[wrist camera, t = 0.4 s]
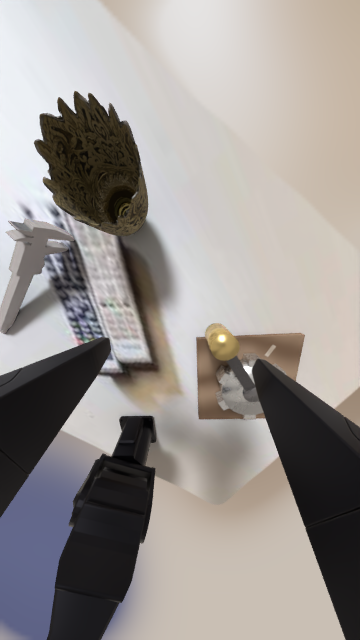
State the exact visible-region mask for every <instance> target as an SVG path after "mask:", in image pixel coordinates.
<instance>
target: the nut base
mask: <svg viewBox="0 0 360 640" xmlns="http://www.w3.org/2000/svg"><path fill="white" fill-rule="evenodd" d="M234 337H235V338H236V339H237V340H238V342H239V345H240V349H239V352H238V354H237V357H238V358H239V360H242V359H243V354H247V353H255V354H256V355H257V356H259V357H260V358H261V359H264V360H266V361H268V362H269V363H270V364H272V365H273V364H275V363H276V364H277V365H278V366H279V367H280V368H282V369H283V370H284V371H285V373H286V374H287V376H289V377H290V378H291V379H293V380H294V381H296V376H297V371H298V366H299V361H300V356H301V352H302V347H303V342H304V337H305V335H304V334H301V333H290V334H267V335H243V336H234ZM196 341H197V378H198V414H199V419H244V418H243V416H242V414H239V413H236V412H234V411H232V410H231V409H230V408H229V409H226V410H223V409H222V408H221V406H220V405H219V404H218V401H217V397H216V394H215V393H216V392H218V391H220V387H219V382H218V379H217V376H216V372H217V371H218V369H219V368H220V366H221V365H222V366H224V367H226V368H227V367H228V366H229V365H228V363H227V361H223V360H219V359H217V358H215V357H214V356H213V354H212V352H211V349H210V347H209V344H208V342H207V339H206V337H196ZM256 418H265V415H264V413H261V414H257V415H256Z"/></svg>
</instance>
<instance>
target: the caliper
mask: <svg viewBox="0 0 360 640" xmlns="http://www.w3.org/2000/svg"><path fill="white" fill-rule="evenodd" d="M8 222H9V223H10V224H11V225H12V226H13V227H14V228H15V229H16V230H11V231H6V233H7V234H8V235H9V236H10V237H11V238H12V239H13V240H14V241H17V242H16V245H15V249H14V252H13V256H12V259H11V263H10V266H9V270H10V271H11V272H12V275H11V278H10V281H9V284H8V287H7V290H6V293H5V296H4V299H3V302H2V305H1V308H0V332H1V333H3V334H6V332H7V330H8V329H9V328H10V327H11V326H12V324H13V323H14V321H15V319H16V316H17V314H18V311H19V309H20V307H21V304H22V302H23V299H24V297H25V295H26V292H27V290H28V287H29V285H30V283H31V280H32V278H33V276H34V275H35V274H41V272H42V268H43V267H44V265H45V263H44V257H45V255H49V254H54V253H60V252H66V251H67V250H68V249H69V248H67V247H66V246H65V245H64V244H63V243H59V242H54V241H48V239H57V240H68V241H74V238H73V237H72V236H71V235H70V234H69V233H68V232H67V231H65V230H63V229H61V228H58V227H56V226H54V225H52V224H49V223H47V222H41V221H36V220H30V219H25V220H24V223H17V222H12V221H8Z"/></svg>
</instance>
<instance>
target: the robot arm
mask: <svg viewBox="0 0 360 640" xmlns="http://www.w3.org/2000/svg"><path fill="white" fill-rule="evenodd" d="M110 352H111V346H110V340H109V338H105V337H101V338H98V339H95V340H93V341H90V342H88V343H85V344H82V345H80V346H77V347H75V348H72V349H69V350H67V351H64V352H61V353H59V354H56V355H54V356H51V357H48V358H46V359H43V360H41V361H38V362H35V363H33V364H30V365H28V366H25V367H23V368H20V369H17V370H14V371H12V372H9V373H6V374H4V375H1V376H0V517H1V516H2V514H3V513H4V511H5V510H6V508H7V507H8V506H9V504H10V502H11V501H12V500H13V498H14V497H15V495H16V494H17V492H18V491H19V489H20V488H21V487H22V485H23V484H24V482H25V480H26V479H27V478H28V476H29V474H30V473H31V472H32V470H33V469H34V467H35V466H36V464H37V463H38V461H39V460H40V459H41V457H42V456H43V454H44V453H45V451H46V450H47V448H48V447H49V445H50V444H51V443H52V441H53V440H54V438H55V437H56V435H57V434H58V432H59V431H60V429H61V428H62V426H63V425H64V424H65V422H66V421H67V419H68V418H69V416H70V415H71V413H72V412H73V410H74V409H75V407H76V406H77V405H78V403H79V402H80V400H81V399H82V397H83V396H84V394H85V393H86V391H87V390H88V388H89V387H90V386H91V384H92V383H93V381H94V380H95V378H96V377H97V375H98V374H99V372H100V370H101V368H102V366H103V365H104V363H105V361H106V359H107V357H108V356H109V354H110ZM252 375H253V379H254V383H255V387H256V391H257V395H258V398H259V401H260V404H261V407H262V410H263V412H264V415H265V418H266V421H267V423H268V426H269V429H270V432H271V434H272V437H273V440H274V443H275V446H276V448H277V451H278V454H279V457H280V459H281V462H282V465H283V468H284V470H285V473H286V476H287V479H288V481H289V484H290V487H291V490H292V492H293V495H294V498H295V501H296V504H297V506H298V509H299V512H300V515H301V517H302V520H303V523H304V525H305V527H306V532H307V534H308V537H309V540H310V542H311V545H312V548H313V551H314V554H315V556H316V559H317V562H318V564H319V567H320V570H321V573H322V576H323V579H324V581H325V584H326V587H327V589H328V592H329V595H330V598H331V601H332V603H333V606H334V609H335V612H336V614H337V617H338V620H339V622H340V625H341V628H342V631H343V634H344V637H345V639H346V640H360V427H359V426H357V425H355V424H354V423H353V422H352V421H350V420H349V419H347V418H346V417H344V416H343V415H341V414H340V413H339V412H338V411H336V410H335V409H333V408H332V407H331V406H329V405H328V404H326V403H325V402H324V401H322V400H321V399H319V398H318V397H317V396H315V395H314V394H312V393H311V392H310V391H308V390H307V389H305V388H304V387H303V386H301V385H300V384H298V383H297V382H296V381H294V380H293V379H291V378H290V377H289V376H287V375H286V374H284V373H283V372H282V371H280V370H279V369H277V368H276V367H275V366H273V365H272V364H270V363H269V362H268V361H266V360H264V359H257V360H256V361H255V363H254V366H253V368H252ZM119 421H120V426H121V430H122V433H121V435H120V437H119V440H118V442H117V445H116V447H115V449H114V452H113V454H112V457H110V456H107V455H106V454H102V456H101V457H100V459H97V460H96V461H95V463H94V465H93V467H92V469H91V471H90V473H89V474H88V476H87V478H86V480H85V481H84V483H83V485H82V486H81V488H80V489H79V491H78V493H77V494H76V496H75V498H74V500H73V507H74V509H73V512H72V517H71V519H70V522H69V526H71V527H73V529H72V531H71V533H70V536H69V538H68V540H67V543H66V545H65V547H64V550H63V552H62V554H61V557H60V560H59V566H58V571H57V577H56V582H55V595H54V602H53V608H52V616H51V623H50V630H49V634H48V637H47V640H101V638H102V636H103V634H104V632H105V630H106V628H107V626H108V624H109V622H110V620H111V618H112V616H113V614H114V612H115V610H116V608H117V606H118V604H119V602H120V603H122V601H123V599H124V597H125V595H126V593H127V591H128V588H129V586H130V584H131V581H132V577H133V573H134V569H135V564H136V558H137V554H138V550H139V545H140V543H143V542H144V540H145V536H146V533H147V529H148V524H149V520H150V514H151V508H152V499H153V489H154V477H155V468H153V467H152V468H150V467H146V466H145V465H146V460H147V455H148V451H149V446H150V443H155V442H156V434H155V427H154V420H153V417H152V416H122V417H120V419H119Z"/></svg>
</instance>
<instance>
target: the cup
mask: <svg viewBox="0 0 360 640" xmlns="http://www.w3.org/2000/svg"><path fill="white" fill-rule="evenodd" d="M88 98H89V100H88V101H87V100H86V99H85V98H84V97H83V96H82V95H80V94H79V93H78V92H76V91H75V92H74V106H75V111H76V114H75V113H74V112H73V111H72V110H71V109H70V108H69V107H68V105H67V104H66V103H65V102H64V101H63V100H62V99H61V98H60V97H59V98H58V101H57V103H58V110H59V112H60V111H61V112H60V114H62V117H61V115H60V116H59V117H55V116H54V115H52V114H48V113H43V114H40V127H41V132H42V136H43V141H44V142H43V141H42V140H39V139H37V140H35V142H34V144H35V147H36V150H37V152H38V153H39V154H40V155H41V156H43V159H45V161H46V162H48V164H49V170H48V173H49V175H50V176H51V180H50V179H48V178H45V177H43V183H44V185H45V186H46V187H47V188H48V189H49V190H50V191H51V192H52V193H53V196H52V197H53V200H54V202H55V203H56V205H57V206H59V207H60V208H61V209H62V210H64V211H65V212H67V213H68V214H70V215H71V216H73V217H74V219H75V220H77V221H79V222H82V223H85V224H87V225H89V226H92V227H94V228H96V229H99V230H101V231H104V232H106V233H109V234H112V235H116V236H127V235H131V234H133V233H135V232H136V231H138V230H139V229H140V228H141V226H142V225H143V223H144V221H145V219H146V216H147V212H148V195H147V189H146V184H145V179H144V175H143V171H142V166H141V162H140V161H141V160H140V156H139V152H138V148H137V145H136V144H135V141H134V138H133V134H132V131H131V128H130V126H129V124H128V122H127V121H124V122H123V121H122V122H120V120H119V118H118V115H117V113H116V111H115V109H114V107H113V105H112V104H111V103H109V108H108V113H109V116H108V114H107V112H106V110H105V108H104V107H103V106H101V105H100V103H99V102H98V101H97V99H96V98H95V97H94V96H93V95H92V94H91V93H88ZM88 102H89V103H88ZM125 212H126V213H125ZM124 214H125V215H124Z"/></svg>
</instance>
